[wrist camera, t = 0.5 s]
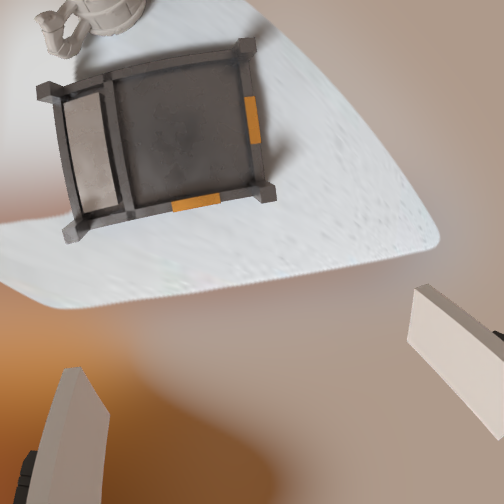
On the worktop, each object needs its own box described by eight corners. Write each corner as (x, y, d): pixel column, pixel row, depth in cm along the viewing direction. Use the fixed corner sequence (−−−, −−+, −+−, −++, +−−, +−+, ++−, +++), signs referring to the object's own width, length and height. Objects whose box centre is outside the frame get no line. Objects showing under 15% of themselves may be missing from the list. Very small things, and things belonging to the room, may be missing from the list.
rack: (58, 93, 27) (36, 86, 21) (243, 53, 30) (255, 37, 24) (83, 228, 33) (66, 244, 27) (262, 191, 36) (277, 201, 30)
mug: (161, -1, 25) (154, -55, 14) (94, 80, 27) (54, 55, 16) (113, -24, 23) (91, -77, 12) (48, 53, 25) (-1, 26, 14)
